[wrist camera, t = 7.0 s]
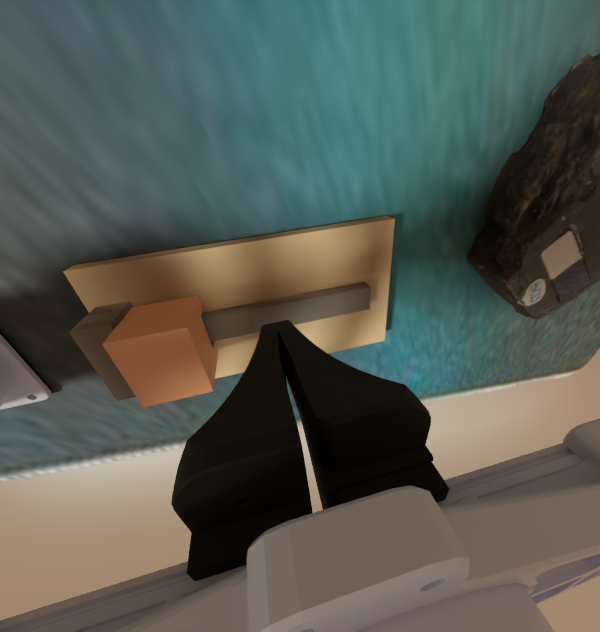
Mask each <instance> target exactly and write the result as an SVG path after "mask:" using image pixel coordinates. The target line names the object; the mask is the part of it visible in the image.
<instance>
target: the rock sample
mask: <svg viewBox="0 0 600 632" xmlns="http://www.w3.org/2000/svg"><path fill="white" fill-rule="evenodd" d="M485 211H486V213H487V215H488V222H487V226H486V227H485V229H484V230H483V232H482V233H480V234H479V235H478V236H477V238H476V242H475V243H474V245H473V247H472V248H471V250H470V252H469V253H468V255H467V260H468V261H469V263H470V264H471V265H472V266H473V267H474V269H475V270H476V271H477V272H478V273H479V274H480V276H481V277H482V278H483V279H484V281H485V282H486V284H489V286H490V287H491V288H492V289H493V290H494V291H495V292H496V293H497V294H499V295H500V296H501V297H502V298H503V299H504V300H506V301H507V302H509V303H510V304H511V305H512V306H513V307H514V308H515V310H516V311H517V312H518V313H520V314H522V315H524V316H527V317H530V318H533V319H537V320H539V319H541V318H543V317H544V316H546V315H548V314H551V313H553V312H555V311H556V310H558V309H559V308H561V307H562V306H564V305H565V304H567V303H569V302H571V301H572V300H574V299H575V298H576V297H577V296H579V295H580V294H581V293H583V292H584V291H586V290H587V289H588V288H589V287H591V286H592V285H594V284H595V283H596V282H598V281H599V280H600V54H598V55H596V56H595V57H592V56H591V55H587V56H585V57H584V58H582V59H581V60H579V61H578V62H577V63H576V64H575V65H574V66H573V68H572V69H571V71H570V73H569V74H568V76H567V77H565V78H563V79H562V80H560V82H559V84H558V85H557V86H556V87H555V88H554V89H553V90H552V92H551V93H550V95H549V96H548V98H547V99H546V102H545V106H544V110H543V114H542V118H541V120H540V121H539V123H538V125H537V127H536V128H535V130H534V132H533V133H531V134H530V135H529V137H528V141H527V143H526V144H525V145H524V146H523V147H522V148H521V149H520V150H519V151H518V152H516V153H513V154H512V155H511V156H510V157H509V158H508V160H507V162H506V164H505V165H504V166H503V168H502V170H501V172H500V175H499V177H498V179H497V181H496V183H495V186H494V188H493V194H492V195H491V197H490V198H489V200H488V202H487V204H486V207H485Z"/></svg>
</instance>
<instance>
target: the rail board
mask: <svg viewBox="0 0 600 632" xmlns="http://www.w3.org/2000/svg"><path fill="white" fill-rule="evenodd" d="M394 225H395V218H391V217H388V216H383V217H376V218H370V219H364V220H357V221H351V222H345V223H338V224H332V225H326V226H319V227H313V228H306V229H300V230H294V231H287V232H281V233H275V234H268V235H262V236H256V237H249V238H243V239H237V240H230V241H224V242H218V243H211V244H205V245H199V246H192V247H186V248H179V249H173V250H167V251H160V252H154V253H148V254H141V255H135V256H129V257H122V258H116V259H110V260H103V261H97V262H91V263H84V264H78V265H74V266H72V267H70V268H69V269H67V270H65V271H63V273H64V274H65V276H66V277H67V279H68V280H69V282H70V284H71V285H72V287H73V288H74V290H75V292H76V293H77V295H78V296H79V298H80V299H81V301H82V303H83V304H84V306H85V307H86V309H87V311H88V312H89V314H88V315H87V316H85V317H84V318H83V319H82V320H81V321H80V322H79V323H78V324H77V325H76V326H75V327H74V328H72V329H71V330H70V331H69V334H70V335H71V336H72V338H73V339H74V341H75V342H76V343H77V345H78V346H79V348H80V349H81V351H82V352H83V353H84V355H85V356H86V358H87V359H88V360H89V362H90V363H91V365H92V366H93V367H94V369H95V370H96V372H97V373H98V374H99V376H100V377H101V379H102V380H103V381H104V383H105V384H106V386H107V387H108V388H109V390H110V391H111V393H112V394H113V395H114V397H115V398H116V400H117V401H119V400H123V399H127V398H132V397H136V396H135V394H134V393H133V391H132V390H131V388H130V387H129V385H128V383H127V382H126V380H125V379H124V377H123V376H122V374H121V373H120V371H119V370H118V368H117V366H116V365H115V363H114V362H113V360H112V359H111V357H110V356H109V354H108V353H107V351H106V349H105V348H104V346H103V345H102V344H103V342H104V341H105V340H106V339H107V337H108V336H109V335H110V334H111V333H112V331H113V330H114V329H115V328H116V326H117V325H118V324H119V323H120V321H121V320H122V319H123V318H124V316H125V315H126V314H127V313H128V311H129V310H130V309H131V308H132V307H136V306H142V305H147V304H153V303H158V302H164V301H169V300H175V299H181V298H186V297H192V296H197V295H198V296H199V299H200V302H201V304H202V307H203V311H202V315H201V317H202V320H203V323H204V326H205V328H206V331H207V334H208V337H209V339H210V342H213V341H215V344H216V347H217V350H218V357H217V366H216V374H215V379H216V378H220V377H225V376H229V375H233V374H238V373H242V372H245V370H246V368H247V366H248V364H249V362H250V359H251V357H252V355H253V353H254V350H255V347H256V344H257V342H258V338H259V334H260V327H261V326H262V325H264V324H269V323H274V322H279V321H284V320H289V321H291V322H292V323H293V325H294V326H295V327H296V328H297V329H298V330H299V331H300V332H301V333H302V334H303V335H304V336H306V337H307V338H308V339H309V340H310V341H311V342H313V343H314V344H315V345H316V346H318V347H319V348H320V349H322V350H323V351H325V352H326V353H332V352H336V351H341V350H345V349H350V348H354V347H359V346H363V345H367V344H372V343H376V342H381V341H385V331H386V319H387V308H388V296H389V284H390V272H391V260H392V248H393V236H394Z"/></svg>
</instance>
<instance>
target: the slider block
mask: <svg viewBox="0 0 600 632" xmlns="http://www.w3.org/2000/svg"><path fill="white" fill-rule="evenodd" d="M202 311H203V307H202V304H201V302H200V299H199V296H198V295H197V296H192V297H186V298H181V299H175V300H169V301H164V302H158V303H153V304H147V305H142V306H136V307H132V308H131V309H130V310H129V311H128V313H127V314H126V315H125V316H124V318H123V319H122V320H121V321H120V323H119V324H118V325H117V326H116V328H115V329H114V330H113V331H112V333H111V334H110V335H109V336H108V337H107V339H106V340H105V341H104V342H103V344H102V345H103V346H104V348H105V349H106V351H107V353H108V354H109V356H110V357H111V359H112V360H113V362H114V363H115V365H116V366H117V368H118V370H119V371H120V373H121V374H122V376H123V377H124V379H125V380H126V382H127V383H128V385H129V387H130V388H131V390H132V391H133V393H134V394H135V396H136V397H137V399H138V400H139V402H140V404H141V405H142V407H147V406H152V405H156V404H160V403H165V402H169V401H173V400H178V399H182V398H186V397H191V396H195V395H199V394H204V393H208V392H212V391H214V382H215V374H216V366H217V357H218V350H217V347H216V344H215V341H213V342H210V339H209V337H208V334H207V331H206V328H205V326H204V323H203V320H202V317H201V315H202Z"/></svg>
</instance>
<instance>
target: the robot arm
mask: <svg viewBox="0 0 600 632" xmlns="http://www.w3.org/2000/svg"><path fill="white" fill-rule="evenodd" d="M286 377H287V380H288V383H289V386H290V388H291V391H292V394H293V397H294V400H295V403H296V406H297V408H298V411H299V414H300V417H301V421H302V424H303V428H304V432H305V437H306V441H307V445H308V449H309V453H310V457H311V461H312V465H313V470H314V474H315V478H316V482H317V487H318V491H319V495H320V499H321V503H322V508H323V510H321V511H318V512H315V513H312V507H311V500H310V493H309V487H308V481H307V474H306V468H305V462H304V456H303V451H302V445H301V440H300V436H299V432H298V428H297V424H296V420H295V417H294V413H293V409H292V405H291V402H290V398H289V394H288V390H287V382H286ZM34 395H35V396H34ZM50 395H51V391H50V390H49V388H48V387H47V386H46V385H45V384H44V383H43V382H42V381H41V379H40V378H39V377H38V376H37V375H36V374H35V373H34V371H33V370H32V369H31V368H30V367H29V366H28V365H27V364H26V362H25V361H24V360H23V359H22V358H21V357H20V356H19V355H18V353H17V352H16V351H15V350H14V349H13V348H12V347H11V346H10V344H9V343H8V342H7V341H6V340H5V339H4V338H3V337H2V335H1V334H0V410H1V409H5V408H10V407H15V406H19V405H24V404H28V403H33V402H38V401H42V400H46V399H48V398H49V396H50ZM430 423H431V417H430V414H429V411H428V410H427V409H426V408H425V406H424V405H423V404H422V403H421V401H420V400H419V399H418V398H417V397H416V396H415V395H414V394H413V393H412V392H411V391H410V390H409V389H408V388H407V386H406V385H404V384H400V383H397V382H393V381H390V380H386V379H382V378H379V377H376V376H373V375H371V374H368V373H365V372H363V371H360V370H358V369H356V368H353V367H351V366H349V365H347V364H345V363H343V362H341V361H339V360H337V359H336V358H334V357H332V356H331V355H329V354H327V353H326V352H325V351H323V350H322V349H320V348H319V347H318V346H316V345H315V344H314V343H313V342H311V341H310V340H309V339H308V338H307V337H306V336H304V335H303V334H302V333H301V332H300V331H299V330H298V329H297V328H296V327H295V326H294V325H293V323H292V322H291V321H289V320H284V321H279V322H274V323H269V324H264V325H262V326H261V327H260V334H259V338H258V342H257V344H256V347H255V350H254V353H253V355H252V357H251V359H250V362H249V364H248V366H247V368H246V370H245V372H244V373H243V375H242V377H241V379H240V380H239V382H238V383H237V385H236V386H235V388H234V389H233V391H232V392H231V394H230V395H229V396H228V398H227V399H226V400H225V402H224V403H223V404H222V405H221V406H220V408H219V409H218V410H217V411H216V412H215V413H214V415H213V416H212V417H211V418H210V419H209V420H208V421H207V422H206V423H205V424H204V425H203V426H202V427H201V428H200V429H199V430H198V431H197V432H196V433H195V434H194V435H193V436H192V437H191V438H189V439H188V440H187V442H186V445H185V448H184V451H183V454H182V457H181V460H180V463H179V466H178V470H177V475H176V480H175V485H174V491H173V496H172V506H173V508H174V510H175V512H176V513H177V515H178V516H179V517H180V518H181V519H182V521H183V522H184V523H185V525H186V526H187V527H188V528H189V530H190V531H191V532H192V535H191V543H190V550H189V558H188V562H185V563H181V564H178V565H175V566H172V567H169V568H166V569H162V570H159V571H156V572H153V573H150V574H147V575H144V576H140V577H137V578H134V579H131V580H128V581H125V582H121V583H118V584H115V585H112V586H109V587H105V588H102V589H99V590H96V591H93V592H90V593H87V594H83V595H80V596H77V597H74V598H71V599H67V600H64V601H61V602H58V603H55V604H52V605H48V606H45V607H42V608H39V609H36V610H33V611H29V612H26V613H24V614H20V615H17V616H14V617H11V618H7V619H4V620H1V621H0V632H555V631H554V629H553V628H552V627H551V625H550V624H549V622H548V621H547V619H546V618H545V616H544V615H543V614H542V612H541V611H540V609H539V608H538V607H537V605H536V604H538V603H540V602H542V601H545V600H547V599H549V598H551V597H554V596H556V595H558V594H560V593H562V592H565V591H567V590H569V589H571V588H573V587H576V586H578V585H580V584H582V583H585V582H586V581H589V580H591V579H593V578H596V577H598V576H600V419H597V420H594V421H591V422H588V423H584V424H581V425H579V426H576V427H575V428H573V429H572V430H571V431H570V432H569V433H568V434H567V435H566V436H565V438H564V440H563V443H562V444H559V445H555V446H552V447H549V448H546V449H542V450H540V451H536V452H533V453H530V454H526V455H523V456H520V457H517V458H514V459H511V460H507V461H504V462H501V463H498V464H495V465H492V466H489V467H485V468H482V469H479V470H476V471H473V472H470V473H467V474H463V475H460V476H457V477H454V478H451V479H447V480H443V478H442V477H441V475H440V474H439V472H438V471H437V470H436V468H435V466H434V465H433V463H432V462H431V461H433V456H432V454H431V453H430V451H429V450H428V448H427V447H426V446H425V444H426V440H427V436H428V432H429V428H430Z"/></svg>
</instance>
